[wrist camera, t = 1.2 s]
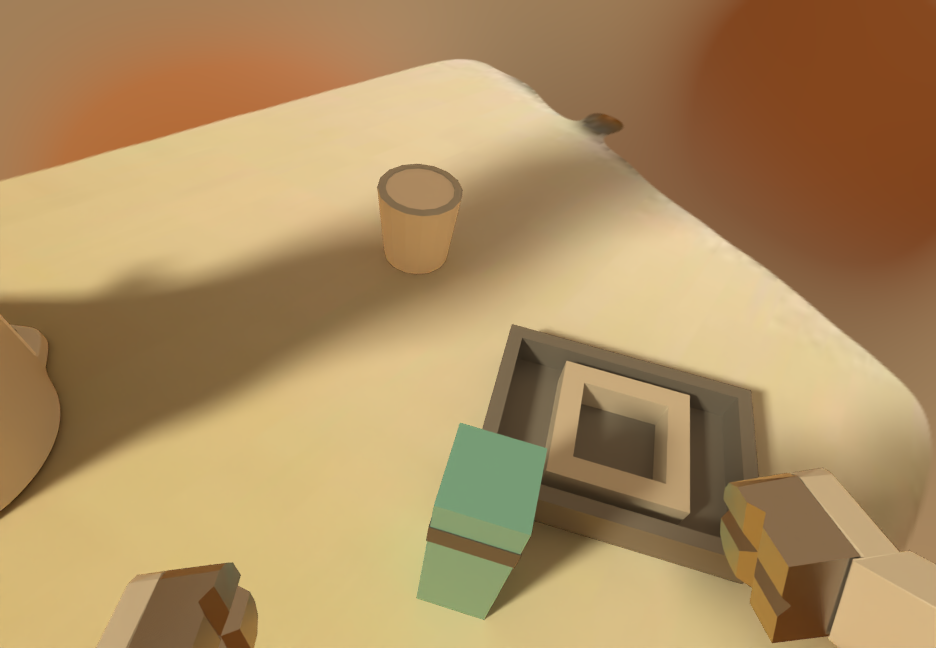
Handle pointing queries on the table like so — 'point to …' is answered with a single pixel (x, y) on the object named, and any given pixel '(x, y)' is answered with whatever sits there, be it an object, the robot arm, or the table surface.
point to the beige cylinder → (418, 216)
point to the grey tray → (627, 446)
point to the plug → (480, 519)
